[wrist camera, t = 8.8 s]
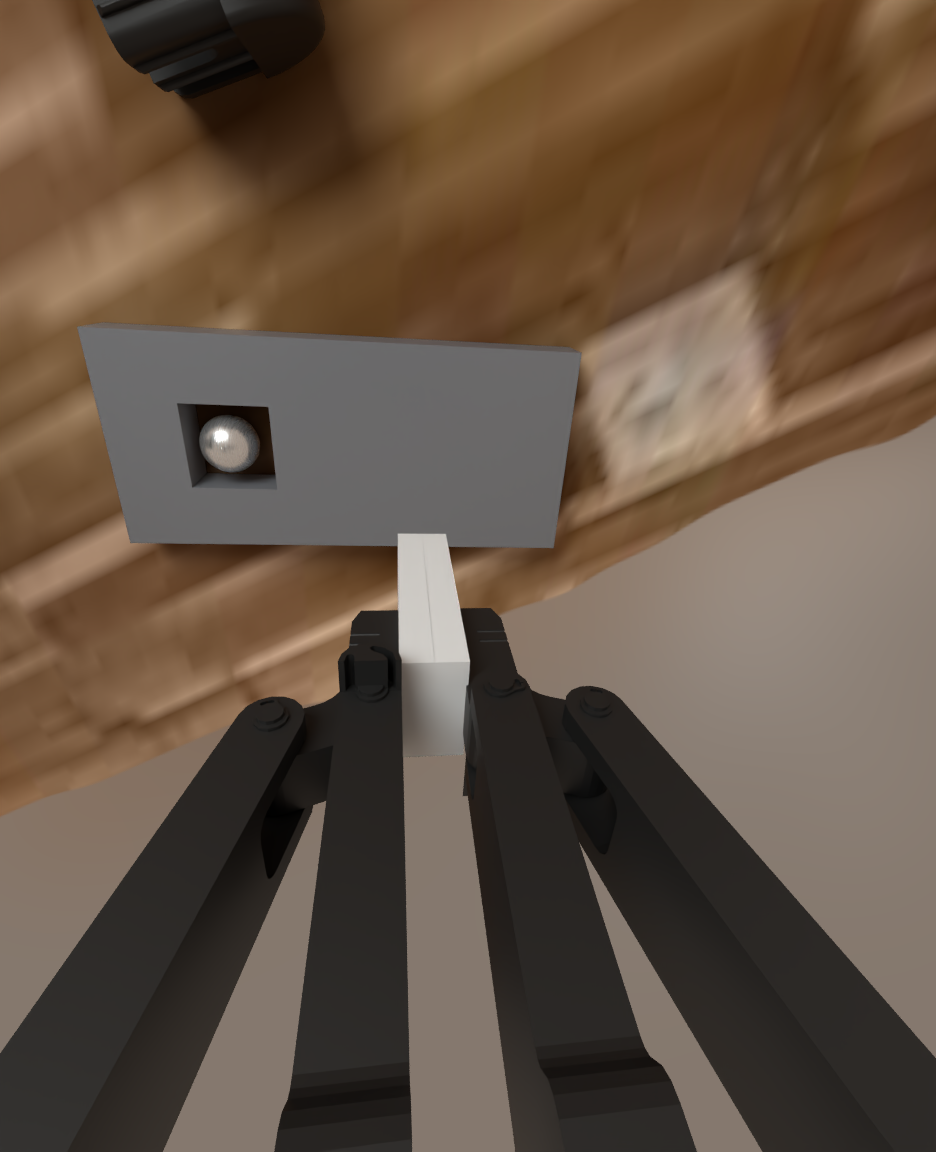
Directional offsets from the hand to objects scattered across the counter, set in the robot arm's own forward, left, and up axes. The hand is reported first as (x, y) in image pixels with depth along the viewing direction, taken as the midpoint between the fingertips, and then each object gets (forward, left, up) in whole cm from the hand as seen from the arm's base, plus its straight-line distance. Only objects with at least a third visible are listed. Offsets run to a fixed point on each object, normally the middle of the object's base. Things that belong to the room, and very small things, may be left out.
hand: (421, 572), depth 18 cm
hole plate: (-4, 0, -16) cm, 17 cm away
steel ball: (-10, 0, -15) cm, 18 cm away
